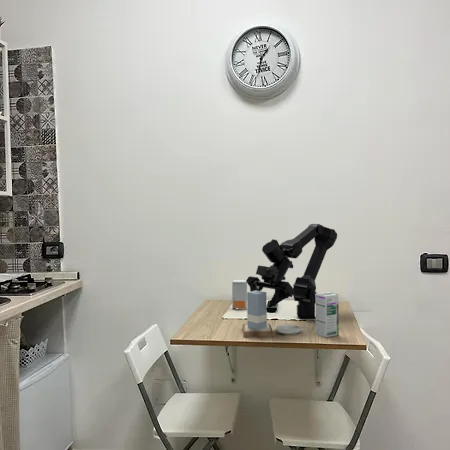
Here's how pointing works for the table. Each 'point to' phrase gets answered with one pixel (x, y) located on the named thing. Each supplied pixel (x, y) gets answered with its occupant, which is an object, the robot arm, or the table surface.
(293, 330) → the saucer
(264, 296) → the carton
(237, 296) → the skincare box
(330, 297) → the syrup box
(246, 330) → the tray
